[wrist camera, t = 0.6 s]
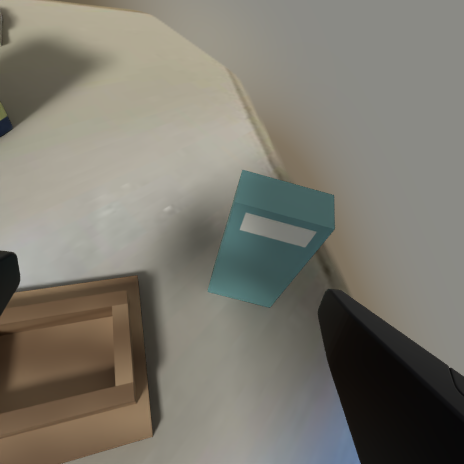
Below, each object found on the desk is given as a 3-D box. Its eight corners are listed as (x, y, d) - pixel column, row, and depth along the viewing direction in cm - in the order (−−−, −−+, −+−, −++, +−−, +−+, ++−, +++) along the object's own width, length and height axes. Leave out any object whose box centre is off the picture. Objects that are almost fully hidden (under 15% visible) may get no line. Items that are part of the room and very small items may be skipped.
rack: (152, 436, 19) (151, 436, 17) (-59, 498, 16) (-99, 510, 14) (138, 280, 25) (135, 263, 22) (-21, 303, 22) (-45, 287, 19)
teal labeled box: (269, 308, 26) (334, 229, 16) (207, 292, 25) (234, 202, 16) (272, 281, 27) (334, 194, 17) (214, 265, 27) (242, 169, 17)
